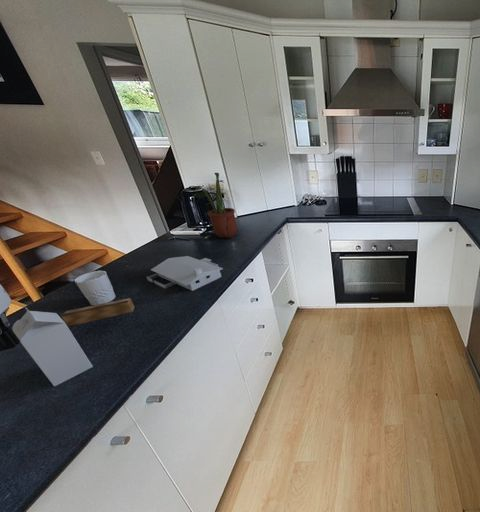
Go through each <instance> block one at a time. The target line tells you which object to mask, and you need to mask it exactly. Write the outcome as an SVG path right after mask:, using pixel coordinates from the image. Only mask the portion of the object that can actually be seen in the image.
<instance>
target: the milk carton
mask: <svg viewBox="0 0 480 512" xmlns="http://www.w3.org/2000/svg"><path fill="white" fill-rule="evenodd" d="M24 309H25V310H26V312H25V313H24V314H23V315H22V317H21V318H20V319H17V320H16V321H15V322H14V323H13V324H12V327H11V329H12V331H13V332H14V333H15V335H16V336H17V337H18V338H19V340H20V342H19V343H20V344H21V345H22V346H23V348H24V349H25V351H26V352H27V353H28V354H29V356H30V357H31V359H32V360H33V361H34V362H35V364H36V365H37V366H38V367H39V369H40V371H41V372H42V373H43V374H44V376H45V377H46V378H47V379H48V381H49V382H50V384H51V385H52V386H53V387H57V386H58V385H61V384H63V383H65V382H67V381H69V380H71V379H72V378H75V377H76V376H78V375H81V374H83V373H85V372H86V371H88V370H90V369H92V368H93V367H94V366H93V364H92V363H91V361H90V359H89V357H88V356H87V355H86V354H85V352H84V350H83V349H82V347H81V345H80V344H79V342H78V341H77V339H76V338H75V336H74V334H73V333H72V331H71V330H70V328H69V326H67V324H66V322H65V321H64V319H63V318H62V317H60V315H58V313H57V312H50V311H49V312H48V311H37V310H29V308H27V306H25V307H24Z"/></svg>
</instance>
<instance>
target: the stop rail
mask: <svg viewBox="0 0 480 512" xmlns="http://www.w3.org/2000/svg"><path fill="white" fill-rule="evenodd" d="M135 308H136V307H135V305H134V302H133V301H132V299H131V297H128V298H127V297H126V298H122V299H118V300H114V301H113V300H112V301H110V302H107V303H103V304H99V305H90V306H85V307H79V308H75V309H70V310H65V311H64V313H61V314H60V316H61V319H62V320H63V321H64V322H65V324H66V325H67V327H72V326H76V325H81V324H86V323H89V322H94V321H99V320H103V319H107V318H111V317H116V316H121V315H125V314H129V313H133V312H134V311H135Z"/></svg>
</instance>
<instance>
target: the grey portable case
mask: <svg viewBox="0 0 480 512" xmlns="http://www.w3.org/2000/svg"><path fill="white" fill-rule="evenodd" d="M221 270H224V268H223V267H220V266H219V263H215V262H212V259H210V258H207V257H204V258H201V259H197V258H195V257H192V256H189V255H185V256H176V257H168V258H166V259H165V260H163V261H162V262H160V263H159V264H157V265H156V266H154V267H152V268H151V269H150V271H152V272H155V273H153V274H152V275H148V276H146V277H145V278H146V280H147V281H148V282H150V283H152V284H153V283H154V284H155V285H156V286H159V287H160V288H163V289H168V288H169V287H172V286H174V285H178V286H180V287H183V288H185V289H187V290H189V291H192V292H193V291H195V290H197V289H199V288H202V287H204V286H206V285H208V284H210V283H212V282H214V281H216V280H218V279H220V278H222V273H221ZM155 277H160V278H162V279H165V280H167V281H168V283H165V284H164V283H162V282H159V281H158V280H154V279H155Z"/></svg>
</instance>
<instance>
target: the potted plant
mask: <svg viewBox="0 0 480 512" xmlns="http://www.w3.org/2000/svg"><path fill="white" fill-rule="evenodd" d="M213 174H214V175H215V178H216V180H215V192H214V194H215V203H214V202H213V201H212V199H211V196H210V195H209V193H208V192H207V189H205V188H203V186H202V185H196V186H192V188H193V189H194V188H201V191H202V192H196V193H194V194H193V195H192V196H191V199H194V198H203V197H204V198H205V197H206V198H207V200H208V201H209V202H207V205H211V207H212V209H211V210H208V211H207V212H206V215H207V216H208V217H209V220H210V223H211V226H212V230H213V232H214V234H215V235H216V236H217V237H218V238H220V239H224V240H227V239H231V238H234V237H235V236H236V235H237V232H238V225H237V220H236V216H235V213H236V210H235V209H234V208H231V207H225V206H224V201H223V195H229V194H227V193H226V192H222V191H224V188H221V185H220V184H221V183H223V184H224V183H225V182H224V180H222V179H221V180H220V179H219V178H220V173H219V172H213ZM215 205H216V207H215Z"/></svg>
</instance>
